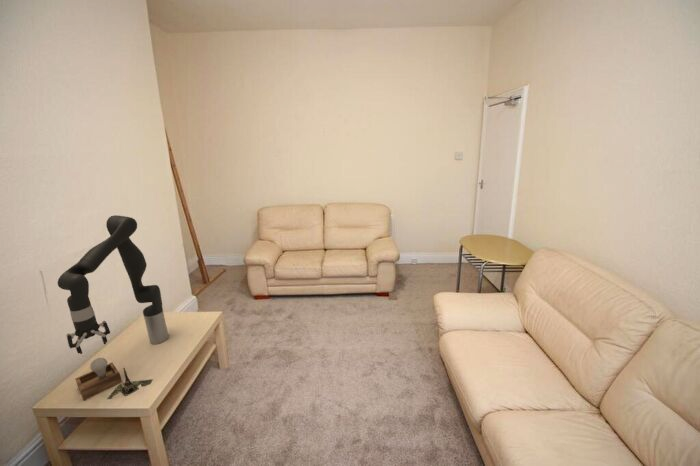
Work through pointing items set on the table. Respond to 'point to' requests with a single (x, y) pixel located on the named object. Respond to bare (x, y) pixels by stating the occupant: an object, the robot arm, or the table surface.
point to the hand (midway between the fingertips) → (93, 348)
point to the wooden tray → (98, 382)
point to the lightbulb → (99, 367)
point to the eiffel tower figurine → (129, 386)
